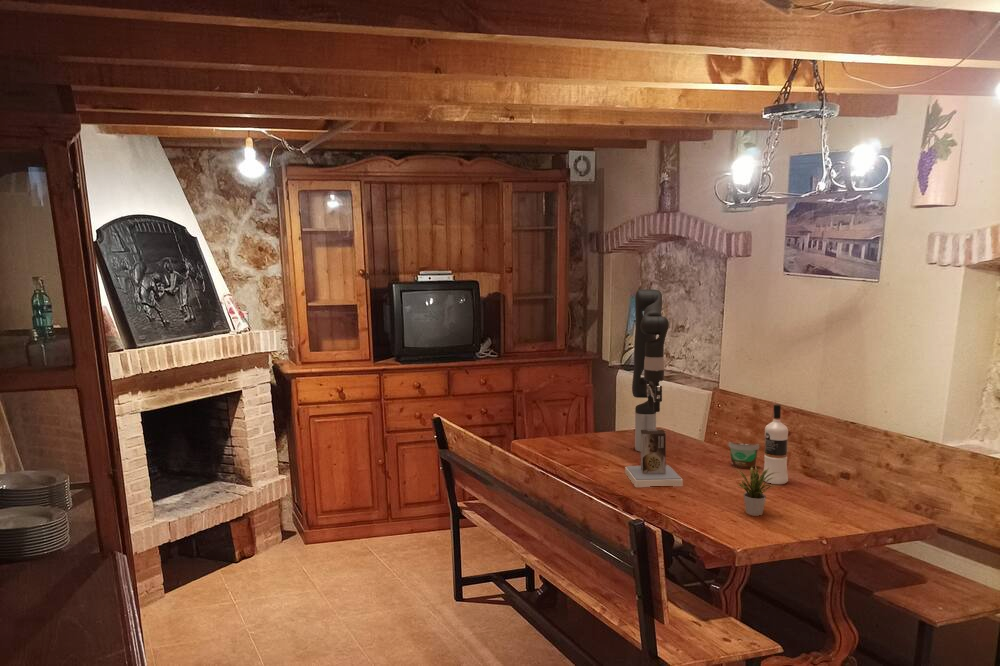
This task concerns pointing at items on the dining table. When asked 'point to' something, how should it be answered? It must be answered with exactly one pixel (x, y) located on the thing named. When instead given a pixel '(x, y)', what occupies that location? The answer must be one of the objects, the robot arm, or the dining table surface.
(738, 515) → the dining table surface
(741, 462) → the food container
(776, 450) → the vodka
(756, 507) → the house plant
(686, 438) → the dining table surface
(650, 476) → the podium
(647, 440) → the coffee box
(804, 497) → the dining table surface
